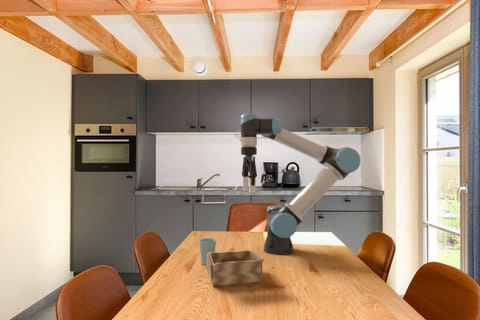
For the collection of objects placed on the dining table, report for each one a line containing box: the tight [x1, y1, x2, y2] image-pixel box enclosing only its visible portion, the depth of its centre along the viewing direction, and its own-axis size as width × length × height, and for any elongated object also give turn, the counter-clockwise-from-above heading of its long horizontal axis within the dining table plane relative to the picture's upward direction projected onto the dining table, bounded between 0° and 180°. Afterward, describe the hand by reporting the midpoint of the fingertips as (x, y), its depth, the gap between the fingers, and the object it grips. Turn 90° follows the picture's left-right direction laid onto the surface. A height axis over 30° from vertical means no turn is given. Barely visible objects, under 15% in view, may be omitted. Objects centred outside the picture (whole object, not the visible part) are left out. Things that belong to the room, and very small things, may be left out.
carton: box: [206, 249, 263, 288], centre depth 123 cm, size 20×17×8 cm
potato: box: [221, 255, 243, 262], centre depth 124 cm, size 7×10×8 cm
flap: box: [215, 258, 265, 265], centre depth 112 cm, size 17×1×6 cm
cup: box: [198, 237, 217, 266], centre depth 141 cm, size 8×8×10 cm
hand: (248, 191), depth 148 cm, fingers open, 13 cm apart
